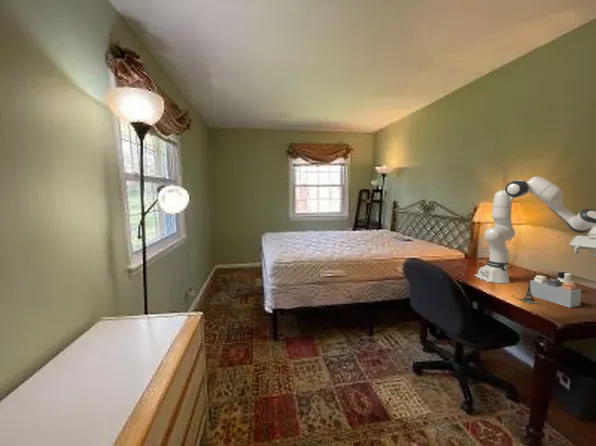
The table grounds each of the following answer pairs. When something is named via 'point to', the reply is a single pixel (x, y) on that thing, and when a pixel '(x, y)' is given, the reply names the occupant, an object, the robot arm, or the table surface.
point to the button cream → (540, 279)
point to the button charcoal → (554, 282)
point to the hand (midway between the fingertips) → (585, 255)
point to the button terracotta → (569, 286)
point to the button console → (555, 294)
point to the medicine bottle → (564, 277)
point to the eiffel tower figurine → (527, 300)
